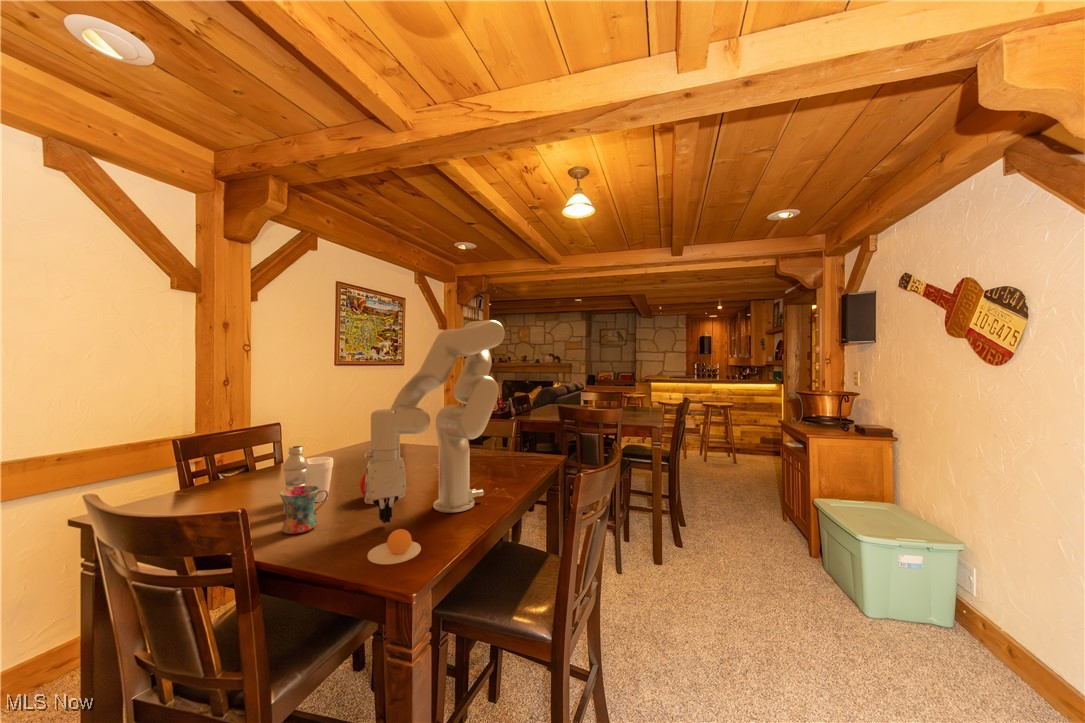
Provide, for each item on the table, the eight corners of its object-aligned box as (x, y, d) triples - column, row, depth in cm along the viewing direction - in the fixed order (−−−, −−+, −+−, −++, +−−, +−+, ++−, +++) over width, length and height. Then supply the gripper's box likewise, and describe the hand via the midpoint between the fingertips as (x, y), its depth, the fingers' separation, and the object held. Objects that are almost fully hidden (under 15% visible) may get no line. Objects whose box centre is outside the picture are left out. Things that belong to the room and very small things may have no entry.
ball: (406, 525, 103) (411, 525, 98) (411, 549, 101) (415, 550, 97) (383, 533, 100) (387, 533, 95) (387, 556, 99) (391, 558, 94)
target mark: (411, 537, 107) (411, 536, 107) (428, 554, 97) (428, 553, 97) (361, 549, 100) (361, 548, 100) (374, 569, 90) (374, 568, 90)
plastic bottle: (285, 520, 118) (285, 450, 118) (281, 513, 124) (281, 446, 124) (310, 515, 123) (310, 447, 123) (306, 508, 128) (306, 444, 128)
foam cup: (337, 499, 136) (337, 460, 136) (307, 506, 129) (307, 465, 129) (326, 493, 143) (326, 455, 143) (296, 500, 136) (296, 460, 136)
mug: (287, 540, 106) (287, 498, 106) (274, 530, 111) (274, 491, 111) (335, 525, 115) (335, 487, 115) (320, 517, 121) (320, 481, 121)
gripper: (359, 461, 107) (359, 532, 107) (416, 453, 115) (416, 519, 115) (353, 455, 113) (353, 523, 113) (408, 448, 121) (408, 511, 121)
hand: (385, 521), depth 114 cm, fingers closed
